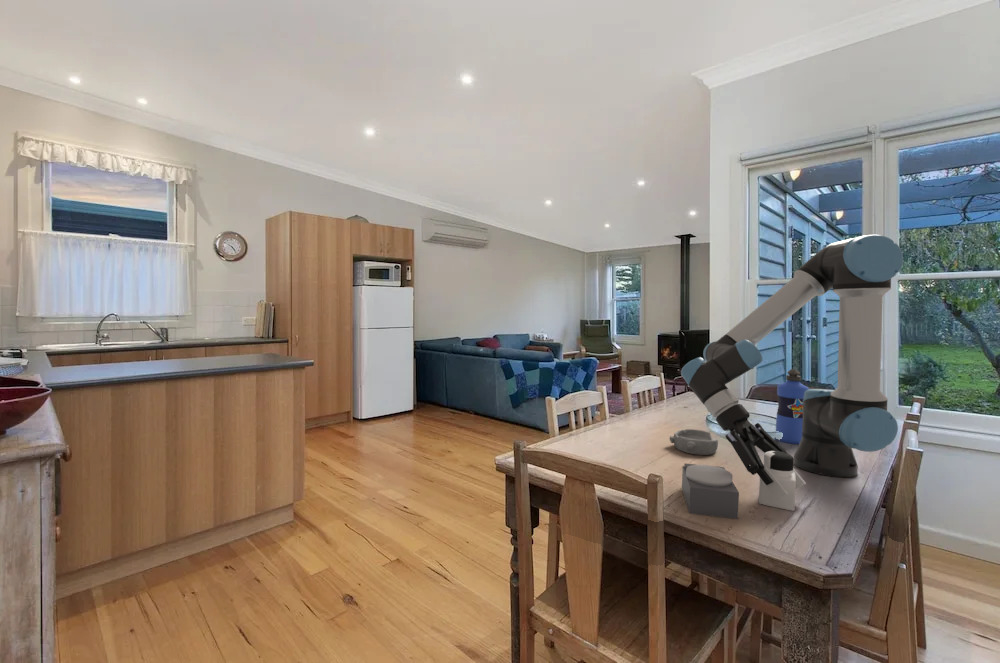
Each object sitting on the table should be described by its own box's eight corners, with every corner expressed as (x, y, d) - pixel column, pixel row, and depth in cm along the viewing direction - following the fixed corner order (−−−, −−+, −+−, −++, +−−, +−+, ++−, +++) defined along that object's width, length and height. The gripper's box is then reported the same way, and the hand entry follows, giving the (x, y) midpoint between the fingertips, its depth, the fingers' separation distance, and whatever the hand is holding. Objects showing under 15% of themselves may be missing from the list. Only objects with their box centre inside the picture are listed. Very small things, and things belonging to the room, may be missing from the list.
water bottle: (812, 444, 154) (816, 371, 152) (785, 444, 154) (788, 371, 153) (795, 436, 163) (798, 367, 162) (769, 436, 163) (772, 367, 162)
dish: (701, 442, 157) (702, 427, 156) (728, 455, 143) (729, 439, 143) (663, 444, 154) (663, 429, 154) (686, 457, 140) (687, 442, 140)
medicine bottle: (794, 500, 110) (796, 451, 109) (794, 511, 104) (796, 460, 103) (760, 493, 113) (762, 446, 113) (758, 504, 107) (760, 454, 107)
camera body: (724, 493, 113) (725, 464, 113) (737, 519, 100) (739, 485, 99) (681, 489, 116) (682, 460, 116) (689, 513, 102) (690, 480, 102)
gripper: (737, 413, 126) (798, 487, 114) (693, 424, 114) (757, 510, 102) (758, 397, 122) (824, 473, 110) (714, 408, 109) (784, 495, 97)
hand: (792, 491), depth 106 cm, fingers closed on medicine bottle, 9 cm apart
